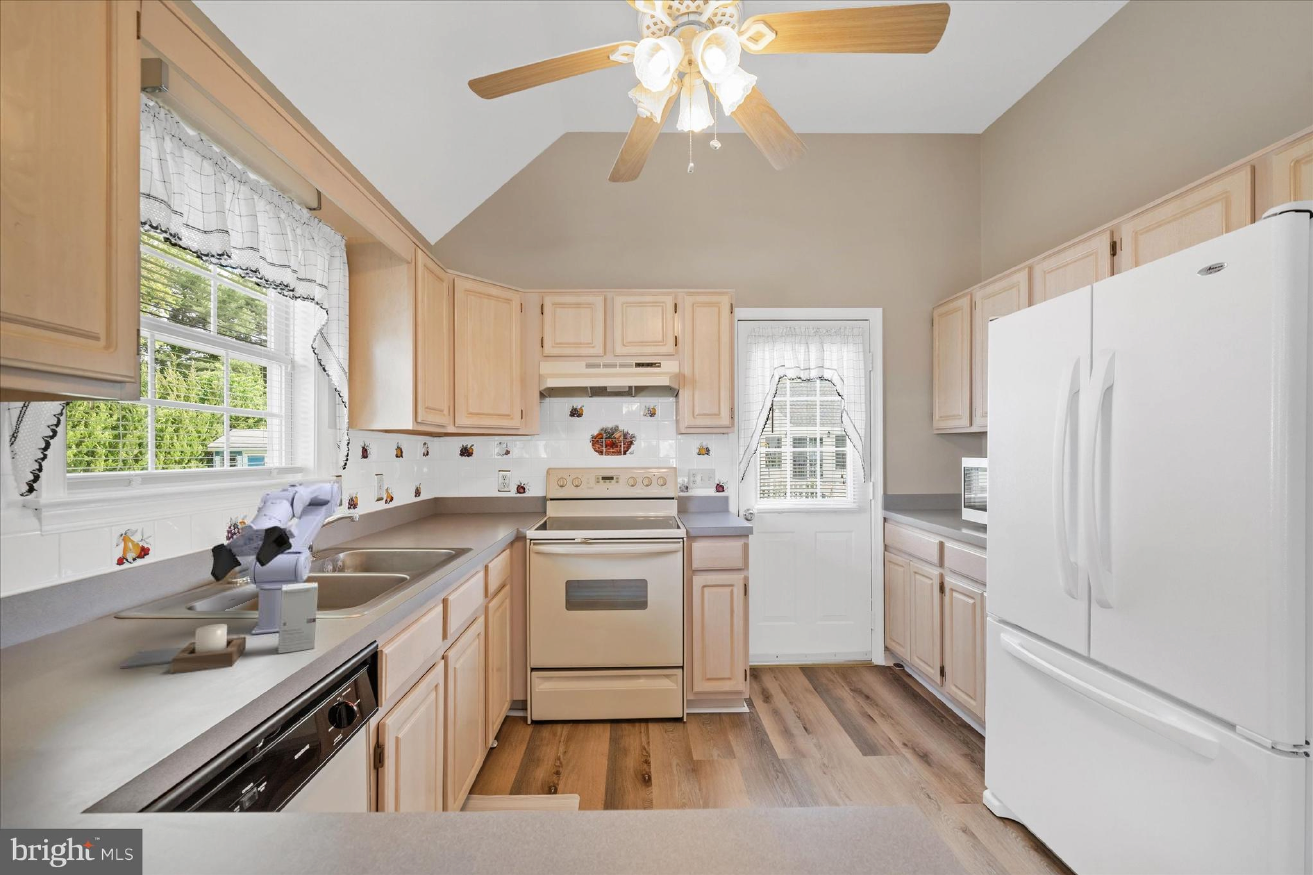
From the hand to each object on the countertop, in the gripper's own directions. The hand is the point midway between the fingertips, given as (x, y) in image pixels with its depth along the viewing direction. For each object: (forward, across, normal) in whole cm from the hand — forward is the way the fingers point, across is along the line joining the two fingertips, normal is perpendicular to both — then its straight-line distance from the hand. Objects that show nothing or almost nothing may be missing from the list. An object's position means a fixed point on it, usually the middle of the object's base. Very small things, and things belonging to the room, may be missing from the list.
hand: (238, 569), depth 97 cm
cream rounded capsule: (+4, -11, +14) cm, 18 cm away
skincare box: (+1, 0, +20) cm, 20 cm away
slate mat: (+1, -21, +12) cm, 24 cm away
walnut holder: (+4, -11, +14) cm, 18 cm away
